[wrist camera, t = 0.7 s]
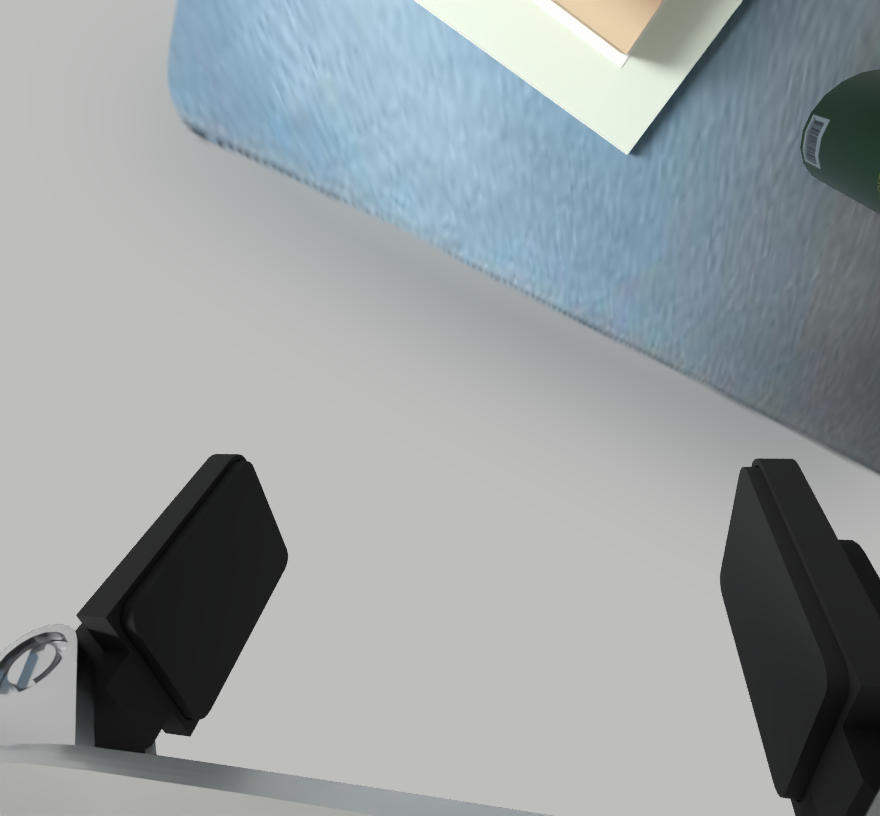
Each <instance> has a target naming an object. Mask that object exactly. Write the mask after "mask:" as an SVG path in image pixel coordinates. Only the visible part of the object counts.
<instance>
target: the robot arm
mask: <svg viewBox="0 0 880 816" xmlns="http://www.w3.org/2000/svg"><path fill="white" fill-rule="evenodd" d="M287 560H288V553H287V549H286V546H285V544H284V541H283V539H282V536H281V534H280V531H279V529H278V526H277V524H276V521H275V519H274V517H273V514H272V511H271V509H270V507H269V504H268V502H267V499H266V497H265V495H264V492H263V489H262V487H261V484H260V482H259V479H258V477H257V475H256V472H255V470H254V467H253V465H252V464H251V463H250V462H248V461H246V459H245V458H244V457H243V456H242V455H237V454H215V455H212V456H211V457H209V458H208V459H207V461H206V462H205V463H204V464H203V465H202V467H201V468H200V469H199V470H198V471H197V472H196V474H195V475H194V476H193V477H192V478H191V480H190V481H189V482H188V483H187V484H186V486H185V487H184V488H183V489H182V490H181V492H180V493H179V494H178V495H177V496H176V497H175V499H174V500H173V501H172V502H171V503H170V505H169V506H168V507H167V508H166V509H165V510H164V512H163V513H162V514H161V515H160V517H159V518H158V519H157V520H156V521H155V522H154V524H153V525H152V526H151V527H150V528H149V529H148V531H147V532H146V533H145V534H144V535H143V537H142V538H141V539H140V540H139V541H138V542H137V544H136V545H135V546H134V547H133V548H132V550H131V551H130V552H129V553H128V555H127V556H126V557H125V558H124V559H123V560H122V561H121V563H120V564H119V565H118V566H117V567H116V569H115V570H114V571H113V572H112V573H111V575H110V576H109V577H108V578H107V579H106V581H105V582H104V583H103V584H102V585H101V586H100V588H99V589H98V590H97V591H96V592H95V594H94V595H93V596H92V597H91V598H90V599H89V601H88V602H87V603H86V604H85V605H84V607H83V608H82V609H81V610H80V611H79V613H78V614H77V617H78V618H79V620H80V621H81V622H82V624H81V625H80V626H79V627H78V629H77V630H76V631H75V630H73V629H72V628H71V627H70V626H67V625H62V624H55V625H47V626H45V627H42V628H39V629H36V630H33V631H31V632H30V633H28V634H26V635H24V636H22V637H20V638H19V639H18V640H16V641H15V642H13V643H12V644H11V645H9V646H8V647H7V648H5V649H4V650H3V651H2V652H1V653H0V816H551V815H544V814H538V813H532V812H526V811H520V810H513V809H507V808H501V807H494V806H488V805H482V804H475V803H469V802H462V801H457V800H450V799H444V798H437V797H431V796H424V795H418V794H411V793H404V792H398V791H392V790H385V789H379V788H372V787H366V786H359V785H352V784H346V783H340V782H333V781H326V780H320V779H313V778H307V777H300V776H294V775H287V774H281V773H274V772H267V771H261V770H253V769H247V768H240V767H233V766H227V765H219V764H213V763H206V762H200V761H193V760H186V759H179V758H173V757H165V756H159V755H157V754H156V745H155V739H156V738H157V736H158V734H159V732H160V730H161V729H163V730H164V732H165V733H169V734H176V735H184V736H191V734H192V732H193V730H194V729H195V727H196V725H197V723H198V721H199V719H203V718H204V717H205V716H206V715H207V714H208V713H209V711H210V710H211V708H212V706H213V704H214V702H215V701H216V699H217V697H218V695H219V693H220V691H221V689H222V687H223V685H224V683H225V682H226V680H227V678H228V676H229V674H230V672H231V670H232V668H233V666H234V665H235V663H236V661H237V659H238V657H239V655H240V653H241V651H242V649H243V647H244V645H245V643H246V642H247V640H248V638H249V636H250V634H251V632H252V630H253V628H254V627H255V625H256V623H257V621H258V619H259V617H260V615H261V613H262V611H263V609H264V608H265V605H266V604H267V602H268V600H269V598H270V596H271V594H272V592H273V590H274V589H275V587H276V585H277V583H278V581H279V579H280V577H281V575H282V573H283V571H284V570H285V567H286V564H287ZM720 585H721V592H722V596H723V600H724V604H725V607H726V611H727V614H728V618H729V622H730V625H731V629H732V633H733V636H734V640H735V643H736V647H737V651H738V655H739V658H740V662H741V665H742V669H743V673H744V676H745V680H746V684H747V688H748V691H749V695H750V699H751V702H752V705H753V710H754V713H755V717H756V720H757V724H758V728H759V731H760V735H761V739H762V743H763V746H764V749H765V754H766V757H767V761H768V764H769V768H770V772H771V775H772V779H773V782H774V786H775V789H776V790H777V793H778V794H779V796H780V797H783V798H790V799H791V802H792V805H793V809H794V812H795V815H796V816H880V579H879V577H878V575H877V573H876V571H875V570H874V568H873V566H872V564H871V563H870V561H869V559H868V557H867V556H866V554H865V552H864V551H863V549H862V548H861V547H860V545H859V544H857V543H856V542H854V541H853V540H838V539H837V537H836V535H835V533H834V531H833V529H832V527H831V525H830V523H829V522H828V520H827V518H826V516H825V514H824V512H823V510H822V508H821V507H820V505H819V503H818V501H817V499H816V497H815V495H814V493H813V492H812V490H811V488H810V486H809V484H808V482H807V480H806V479H805V476H804V475H803V473H802V471H801V469H800V467H799V465H798V464H797V462H796V461H795V460H793V459H755V460H754V461H753V463H752V467H742V468H741V470H740V474H739V479H738V484H737V489H736V494H735V500H734V505H733V510H732V516H731V520H730V525H729V531H728V536H727V541H726V546H725V552H724V557H723V562H722V567H721V574H720Z"/></svg>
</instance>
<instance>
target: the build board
mask: <svg viewBox="0 0 880 816" xmlns="http://www.w3.org/2000/svg"><path fill="white" fill-rule="evenodd" d="M414 1H416V2H417V3H418V4H420V5H421V6H423V7H424V8H425V9H427V10H428V11H429V12H431V13H432V14H434V15H435V16H436V17H438V18H439V19H440V20H442V21H443V22H445V23H446V24H447V25H449V26H450V27H452V28H453V29H454V30H456V31H457V32H458V33H460V34H461V35H463V36H464V37H465V38H467V39H468V40H469V41H471V42H472V43H474V44H475V45H476V46H478V47H479V48H480V49H482V50H483V51H485V52H486V53H487V54H489V55H490V56H491V57H493V58H494V59H496V60H497V61H498V62H500V63H501V64H502V65H504V66H505V67H507V68H508V69H509V70H511V71H512V72H513V73H515V74H516V75H518V76H519V77H520V78H522V79H523V80H524V81H526V82H527V83H529V84H530V85H531V86H533V87H534V88H536V89H537V90H538V91H540V92H541V93H542V94H544V95H545V96H547V97H548V98H549V99H551V100H552V101H553V102H555V103H556V104H558V105H559V106H560V107H562V108H563V109H564V110H566V111H567V112H569V113H570V114H571V115H573V116H574V117H575V118H577V119H578V120H580V121H581V122H582V123H584V124H585V125H586V126H588V127H589V128H591V129H592V130H593V131H595V132H596V133H597V134H599V135H600V136H602V137H603V138H604V139H606V140H607V141H609V142H610V143H611V144H613V145H614V146H615V147H617V148H618V149H620V150H621V151H622V152H624V153H625V154H626V155H628V153H629V152H630V151H631V149H632V148H633V147H634V145H635V144H636V143H637V141H638V140H639V139H640V137H641V136H642V135H643V133H644V132H645V131H646V129H647V128H648V127H649V125H650V124H651V123H652V121H653V120H654V118H655V117H656V116H657V114H658V113H659V112H660V110H661V109H662V108H663V106H664V105H665V104H666V102H667V101H668V100H669V98H670V97H671V96H672V94H673V93H674V92H675V90H676V89H677V88H678V86H679V85H680V84H681V82H682V81H683V80H684V78H685V77H686V76H687V74H688V73H689V72H690V70H691V69H692V68H693V66H694V65H695V64H696V62H697V61H698V60H699V58H700V57H701V56H702V54H703V53H704V52H705V50H706V49H707V48H708V46H709V45H710V44H711V42H712V41H713V40H714V38H715V37H716V36H717V34H718V33H719V32H720V30H721V29H722V27H723V26H724V25H725V23H726V22H727V21H728V19H729V18H730V17H731V15H732V14H733V13H734V11H735V10H736V9H737V7H738V6H739V5H740V3H741V2H742V1H743V0H663V1H662V3H661V4H660V6H659V7H658V9H657V10H656V12H655V13H654V15H653V16H652V17H651V19H650V20H649V22H648V23H647V25H646V26H645V28H644V29H643V31H642V32H641V34H640V35H639V37H638V38H637V40H636V41H635V43H634V44H633V46H632V47H631V49H630V50H629V52H628V53H627V54H623V53H620V52H618V51H617V50H616V49H614V48H613V47H612V46H610V45H609V44H608V43H607V42H605V41H604V40H603V39H601V38H600V37H599V36H597V35H596V34H595V33H593V32H592V31H591V30H589V29H588V28H587V27H585V26H584V25H583V24H581V23H580V22H579V21H577V20H576V19H575V18H574V17H572V16H571V15H570V14H568V13H567V12H566V11H564V10H563V9H562V8H560V7H559V6H558V5H556V4H555V3H554V2H552V1H551V0H414Z"/></svg>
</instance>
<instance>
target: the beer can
mask: <svg viewBox="0 0 880 816" xmlns="http://www.w3.org/2000/svg"><path fill="white" fill-rule="evenodd" d="M800 148H801V153H802V158H803V163H804V165H805V166H806V167H807V169H808V170H809V172H810V173H811V175H812V176H814V177H816V178H817V179H819V180H821V181H822V182H824V183H825V184H827V185H829V186H831V187H833V188H834V189H836V190H838V191H840V192H841V193H843V194H845V195H847V196H849V197H850V198H852V199H854V200H856V201H857V202H859V203H861V204H863V205H865V206H866V207H868V208H870V209H872V210H873V211H875V212H877V213H879V214H880V70H874V71H868V72H862V73H860V74H858V75H856V76H854V77H851V78H849V79H847V80H845V81H843V82H841V83H840V84H839V85H837V86H836V87H835V88H834V89H832V90H831V91H830V92H829V93H827V94H826V95H825V96H824V97H823V98H822V100H821V101H820V102H819V103H818V105H817V106H816V107H815V108H814V110H813V111H812V112H811V114H810V116H809V118H808V121H807V123H806V125H805V127H804V129H803V134H802V141H801V147H800Z"/></svg>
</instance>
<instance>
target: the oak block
mask: <svg viewBox="0 0 880 816" xmlns="http://www.w3.org/2000/svg"><path fill="white" fill-rule="evenodd" d="M551 1H552V2H554V3H555V4H556V5H558V6H559V7H560V8H562V9H563V10H564V11H566V12H567V13H568V14H570V15H571V16H572V17H574V18H575V19H576V20H577V21H579V22H580V23H581V24H583V25H584V26H585V27H587V28H588V29H589V30H591V31H592V32H593V33H595V34H596V35H597V36H599V37H600V38H601V39H603V40H604V41H605V42H607V43H608V44H609V45H610V46H612V47H613V48H614V49H616V50H617V51H618V52H620V53H623V54H627V53H628V52H629V50H630V49H631V47H632V46H633V44H634V43H635V41H636V40H637V38H638V37H639V35H640V34H641V32H642V31H643V29H644V28H645V26H646V25H647V23H648V22H649V20H650V19H651V17H652V16H653V15H654V13H655V12H656V10H657V9H658V7H659V6H660V4H661V3H662V1H663V0H551Z"/></svg>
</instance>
